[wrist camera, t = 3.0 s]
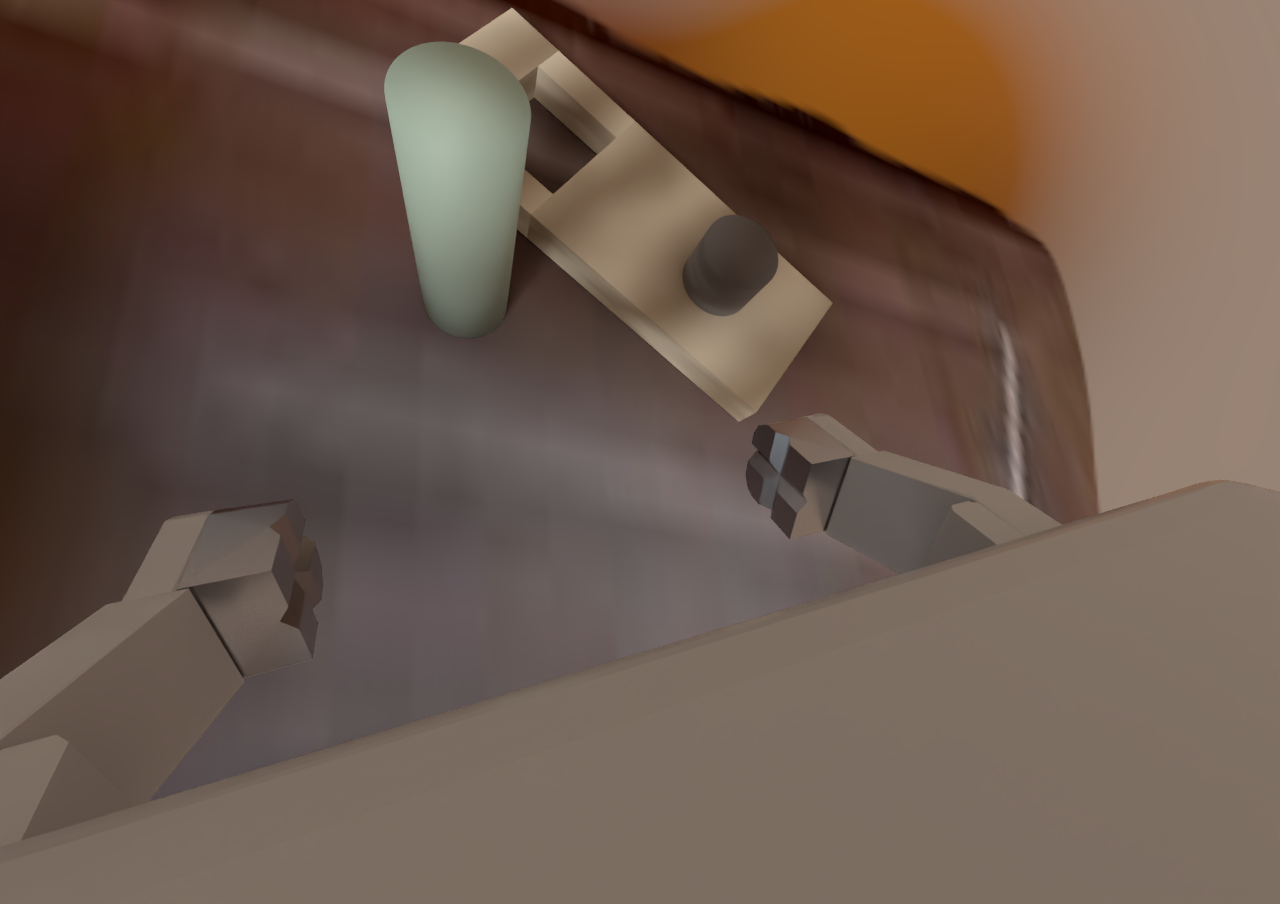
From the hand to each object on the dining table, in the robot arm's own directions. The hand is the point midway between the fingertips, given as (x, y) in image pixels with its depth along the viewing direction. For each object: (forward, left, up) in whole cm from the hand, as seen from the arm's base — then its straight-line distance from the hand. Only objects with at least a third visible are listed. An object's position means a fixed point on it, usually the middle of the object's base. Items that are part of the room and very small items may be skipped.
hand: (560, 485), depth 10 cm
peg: (-9, +8, -16) cm, 20 cm away
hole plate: (-6, +17, -16) cm, 24 cm away
